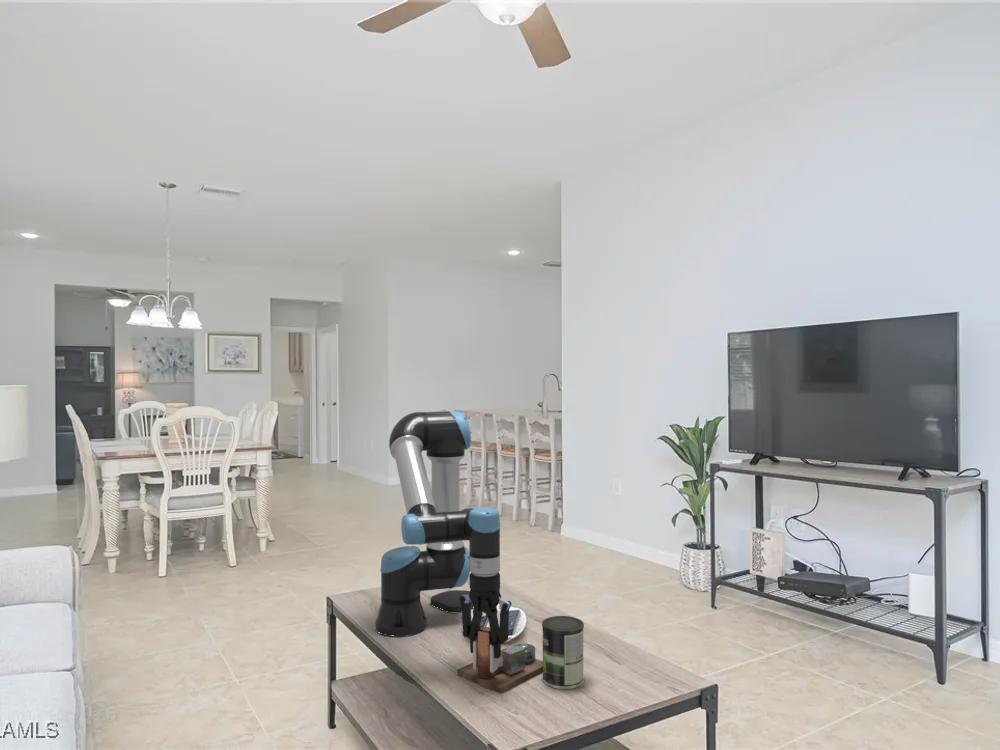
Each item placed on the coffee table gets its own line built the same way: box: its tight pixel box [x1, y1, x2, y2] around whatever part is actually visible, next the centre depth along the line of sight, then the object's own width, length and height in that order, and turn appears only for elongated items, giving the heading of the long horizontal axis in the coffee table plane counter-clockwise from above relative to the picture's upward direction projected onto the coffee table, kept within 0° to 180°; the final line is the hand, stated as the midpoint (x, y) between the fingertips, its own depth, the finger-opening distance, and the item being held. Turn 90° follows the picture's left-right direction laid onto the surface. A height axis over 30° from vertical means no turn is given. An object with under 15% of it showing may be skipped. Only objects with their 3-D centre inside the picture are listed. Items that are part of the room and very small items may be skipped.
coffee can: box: [541, 615, 585, 690], centre depth 166 cm, size 10×10×14 cm
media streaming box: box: [430, 589, 474, 613], centre depth 224 cm, size 15×15×3 cm
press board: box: [456, 647, 543, 694], centre depth 171 cm, size 15×18×2 cm
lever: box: [477, 626, 536, 679], centre depth 169 cm, size 18×7×11 cm, turn 132°
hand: (485, 668), depth 165 cm, fingers closed on lever, 4 cm apart
